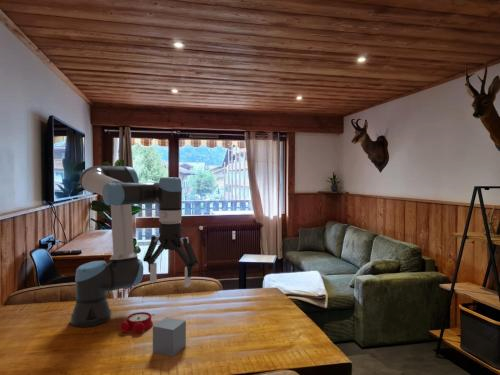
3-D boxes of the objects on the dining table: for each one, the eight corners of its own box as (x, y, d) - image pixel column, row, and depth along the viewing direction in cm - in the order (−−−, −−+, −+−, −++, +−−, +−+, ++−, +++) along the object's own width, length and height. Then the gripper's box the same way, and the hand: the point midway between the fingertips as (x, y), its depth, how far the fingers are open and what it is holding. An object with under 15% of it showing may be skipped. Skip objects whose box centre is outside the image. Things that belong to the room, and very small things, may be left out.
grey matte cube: (152, 352, 113) (152, 326, 113) (166, 342, 121) (166, 317, 121) (173, 356, 111) (173, 329, 111) (185, 345, 118) (185, 320, 118)
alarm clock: (158, 312, 139) (141, 318, 125) (156, 328, 138) (139, 336, 124) (135, 310, 141) (115, 316, 127) (133, 326, 140) (113, 334, 125)
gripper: (132, 221, 116) (132, 283, 116) (197, 225, 107) (197, 291, 108) (146, 219, 123) (146, 277, 123) (208, 222, 115) (207, 284, 115)
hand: (170, 284), depth 116 cm, fingers open, 13 cm apart
